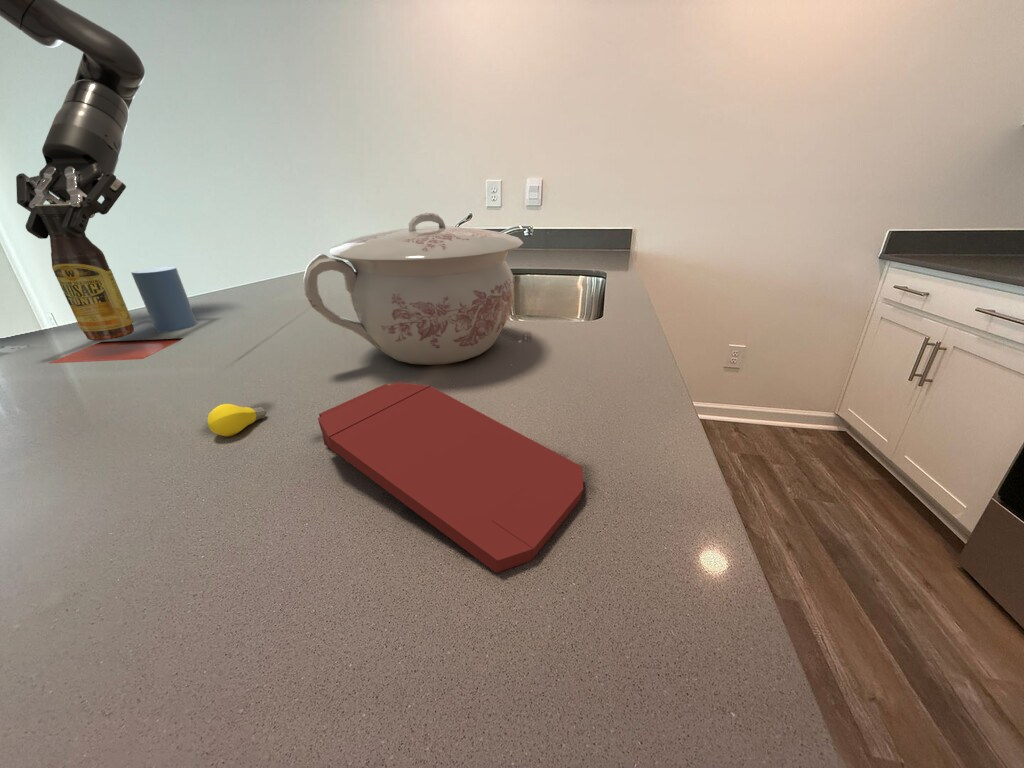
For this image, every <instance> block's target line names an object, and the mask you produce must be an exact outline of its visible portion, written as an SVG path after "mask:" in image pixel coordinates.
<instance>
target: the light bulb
mask: <svg viewBox="0 0 1024 768" xmlns="http://www.w3.org/2000/svg"><path fill="white" fill-rule="evenodd" d="M266 415H267V410H266V409H264V408H263V407H262V406H259V407H255V408H252V407H250V406H249V407H248V406H241V405H236V404H231V403H222V404H220V405H217V406H216V407H215V408H213V409H212V410H211V411H210V412H209V413H208V415H207V420H206V422H207V426H208V428H209V430H210V431H211V432H212V433H214V434H216V435H219V436H222V437H233V436H235V435H237V434H239V433H240V432H241V431H242V430H244V429H245V428H247V426H249V425H252V424H253V423H254V422H255V421H258V420H259V421H260V420H263V419H265V418H266Z"/></svg>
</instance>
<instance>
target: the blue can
mask: <svg viewBox="0 0 1024 768" xmlns="http://www.w3.org/2000/svg"><path fill="white" fill-rule="evenodd" d="M130 274H131V276H132V278H133V281H134V283H135V285H136V288H137V290H138V292H139V295H140V297H141V300H142V302H143V304H144V307H145V309H146V311H147V314H148V316H149V318H150V321H151V323H152V325H153V328H154V330H155V331H156V332H159V333H167V332H176V331H182V330H185V329H189V328H192V327H194V326H197V324H198V322H197V319H196V317H195V313H194V311H193V308H192V306H191V303H190V301H189V298H188V295H187V292H186V289H185V287H184V285H183V282H182V279H181V277H180V274H179V271H178V268H177V267H176V266H156V267H147V268H140V269H135V270H132V271H131V272H130Z"/></svg>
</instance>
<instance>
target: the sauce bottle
mask: <svg viewBox="0 0 1024 768" xmlns="http://www.w3.org/2000/svg"><path fill="white" fill-rule="evenodd" d="M68 208H73V207H72V206H71V205H70V203H69V204H50V203H48V204H47V203H45V204H41V205H35V209H36V211H37V214H38V215H39V216H40V217H41V218H42V220H43V222H44V224H45V227H46V229H47V231H48V237H49V243H50V259H51V269H52V272H53V273H54V276H55V277H56V279H57V282H58V284H59V286H60V289H61V290H62V292H63V295H64V297H65V299H66V301H67V303H68V305H69V307H70V310H71V312H72V313H73V316H74V318H75V320H76V323H77V324H78V326H79V328H80V330H81V331H82V332H83V334H84V335H85V337H86V339H87V340H88V341H89V340H90V341H95V342H96V341H99V342H100V341H108V340H114V339H120V338H123V337H125V336H128V335H131V334H133V333H134V332H135V327H134V325H133V323H134V321H133V319H132V317H131V314H130V311H129V309H128V307H127V305H126V302H125V300H124V297H123V295H122V292H121V290H120V287H119V285H118V283H117V280H116V278H115V276H114V274H113V271H112V269H111V268H110V266H109V264H108V260H107V258H106V256H105V254H104V251H102V250H101V249H100V248H99V247H98V246H97V245H96V244H94V243H93V242H92V241H91V240H90V239H89V238H88V237H87V234H86V231H85V232H84V233H83V234H82V237H81V238H74V237H72V236H70V235H69V234H67V233H66V232H64V231H63V230H62V224H63V221H64V218H65V215H66V212H67V209H68Z"/></svg>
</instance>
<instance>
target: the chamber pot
mask: <svg viewBox="0 0 1024 768" xmlns="http://www.w3.org/2000/svg"><path fill="white" fill-rule="evenodd" d="M424 222H425V223H426V222H432V223H435V224H438V226H418V225H419V224H421V223H424ZM417 226H418V227H417ZM523 244H524V241H522V239H520V237H518V236H514V235H509V233H505V232H500V231H494V230H488V229H483V228H474V227H473V228H472V227H461V226H446V223H445V222H444V219H443V218H442V217H441V216H440V215H439V214H437V213H433V212H423V213H420V214H417V215H415V216H414V217H412V219H411V220H410V221H409V223H408V227H405V228H398V229H392V230H387V231H380V232H375V233H371V234H370V233H369V234H365V235H362V236H357V237H354V238H349V239H347V240H345V241H343V242H341V243H338V244H335V245H334V246H331V247H330V248H329V250H328V251H329V254H330V255H331V256H332V257H329V256H328V255H327V254H325V253H320V254H317V255H316V256H315V257H314V258H312V259H310V261H309V263H308V264H307V266H306V268H305V270H304V275H303V279H302V282H303V289H304V296H305V297H306V299H307V301H308V303H309V304H310V307H311V308H312V309H313V310H315V311H316V312H317V313H319V314H320V315H321V316H322V317H323V318H324V319H326V320H327V321H329V323H332V324H334V325H336V326H339V327H342V328H344V329H347V330H349V331H352V332H353V333H354V334H356V335H358V336H360V337H361V338H362V339H364V340H365V341H366V342H368V343H369V344H370V345H372V346H373V347H374V348H376V349H379V350H380V351H381V352H382V353H384V354H385V355H387V356H389V357H390V358H392V359H394V360H395V361H398V362H402V363H407V364H411V365H423V366H424V365H426V366H434V365H435V366H439V365H440V366H441V365H448V364H453V363H460V362H463V361H466V360H469V359H471V358H476V357H478V356H480V355H481V354H483V353H485V352H487V351H488V350H489V349H490V348H492V346H493V345H494V344H495V342H496V341H497V340H498V338H499V336H500V334H501V332H502V331H503V329H504V327H505V325H506V324H507V322H508V320H509V319H510V317H511V312H512V307H513V301H514V295H515V275H514V274H513V272H512V270H511V268H510V265H509V264H508V262H507V261H506V260H507V257H508V254H509V252H511V251H515V250H517V249H518V248H520V247H521V246H522V245H523ZM344 260H345V261H344ZM346 261H347V262H349V263H350V264H348V263H347V262H346ZM329 271H333V272H334V271H335V272H338V273H341V274H342V276H343V280H344V286H345V290H346V291H347V292H348V294H349V298H350V299H349V300H350V303H351V304H352V307H353V309H354V311H355V314H356V317H357V319H358V320H354V319H350V318H347V317H344V316H340V315H339V314H337V312H335V311H334V310H332V309H331V308H330V307H328V306H327V305H326V304H325V303H324V301H323V299H322V297H321V295H320V291H319V284H318V279H319V275H321V274H322V273H325V272H329Z"/></svg>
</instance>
